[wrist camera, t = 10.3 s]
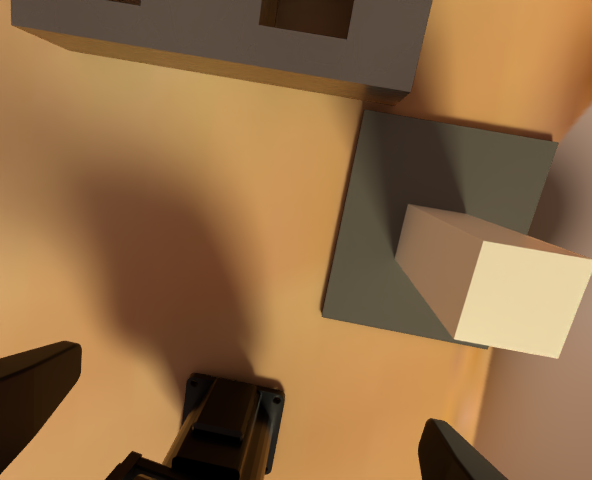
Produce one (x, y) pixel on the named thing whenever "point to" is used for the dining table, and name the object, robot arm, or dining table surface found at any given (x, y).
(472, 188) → the mat
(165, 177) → the dining table surface
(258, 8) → the grey block with holes
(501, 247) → the peg
